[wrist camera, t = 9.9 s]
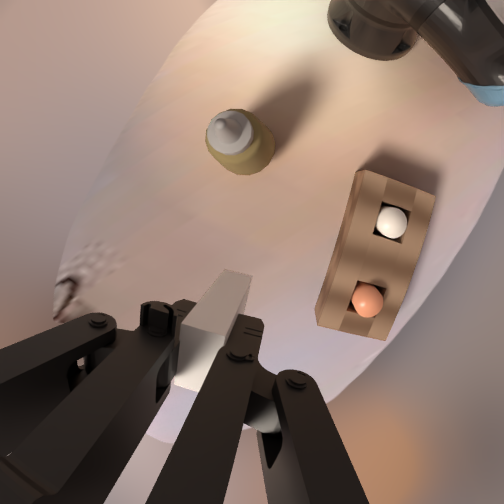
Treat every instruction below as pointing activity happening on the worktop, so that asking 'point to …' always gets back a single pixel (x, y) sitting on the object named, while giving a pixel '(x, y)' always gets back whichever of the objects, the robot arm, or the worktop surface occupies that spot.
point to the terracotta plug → (366, 299)
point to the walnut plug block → (373, 255)
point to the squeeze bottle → (240, 141)
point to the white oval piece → (390, 222)
